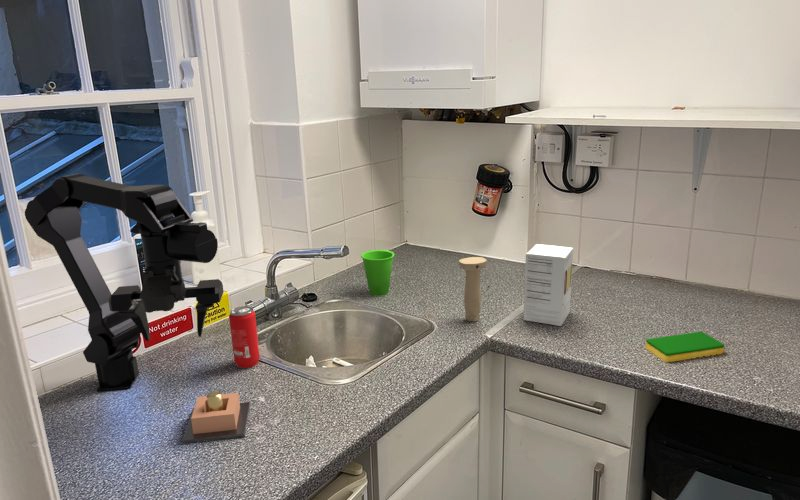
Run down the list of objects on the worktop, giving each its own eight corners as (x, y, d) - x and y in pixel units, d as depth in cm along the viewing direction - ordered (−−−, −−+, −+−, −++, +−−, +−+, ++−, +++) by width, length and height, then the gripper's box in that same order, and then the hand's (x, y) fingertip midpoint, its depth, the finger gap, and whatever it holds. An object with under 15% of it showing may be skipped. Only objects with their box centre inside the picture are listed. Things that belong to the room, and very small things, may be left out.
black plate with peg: (182, 443, 98) (178, 413, 97) (193, 410, 108) (189, 383, 106) (244, 436, 100) (241, 407, 98) (250, 405, 109) (246, 377, 107)
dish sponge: (644, 349, 127) (645, 338, 126) (700, 341, 130) (701, 330, 129) (665, 364, 120) (667, 353, 120) (724, 355, 123) (725, 344, 122)
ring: (193, 434, 100) (191, 418, 99) (200, 411, 106) (197, 396, 105) (236, 429, 101) (234, 413, 100) (240, 407, 107) (238, 392, 106)
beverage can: (230, 363, 125) (223, 311, 122) (251, 355, 128) (246, 303, 125) (243, 371, 121) (236, 317, 118) (264, 362, 125) (259, 310, 121)
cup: (392, 299, 157) (391, 260, 154) (359, 298, 159) (357, 259, 156) (398, 287, 166) (397, 249, 163) (366, 286, 167) (364, 249, 164)
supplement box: (561, 327, 138) (565, 258, 133) (522, 320, 142) (524, 253, 137) (570, 312, 146) (574, 246, 141) (533, 306, 150) (535, 242, 145)
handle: (456, 317, 145) (456, 259, 140) (480, 313, 146) (480, 256, 142) (464, 325, 140) (464, 265, 136) (489, 321, 142) (490, 261, 138)
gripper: (90, 276, 96) (107, 363, 101) (209, 267, 99) (220, 352, 103) (111, 256, 107) (126, 335, 111) (218, 249, 109) (228, 326, 114)
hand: (174, 338), depth 110 cm, fingers open, 9 cm apart
